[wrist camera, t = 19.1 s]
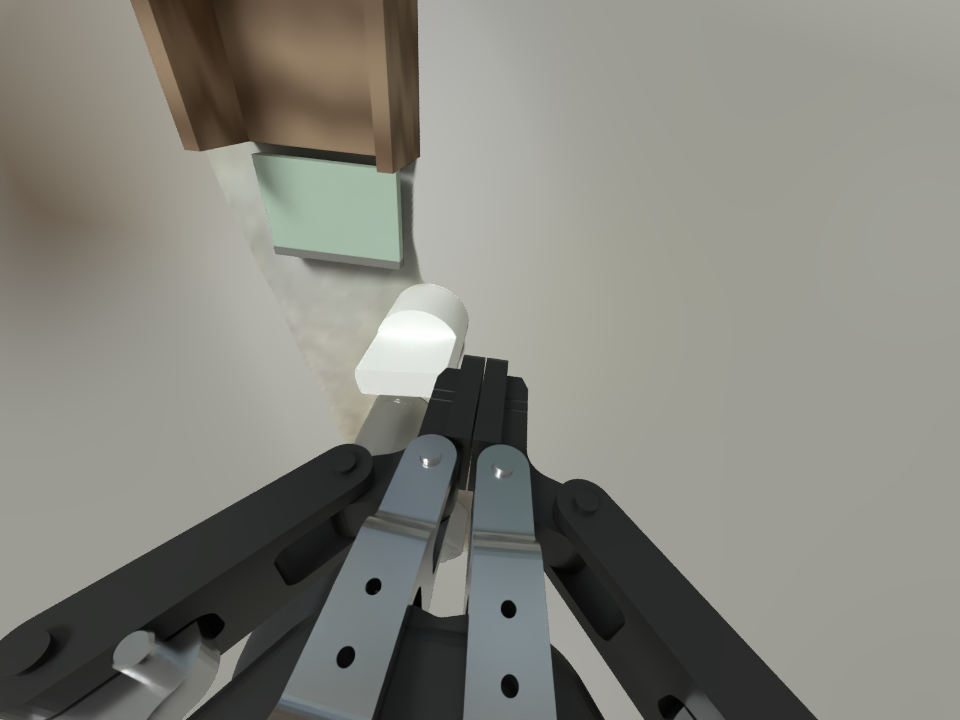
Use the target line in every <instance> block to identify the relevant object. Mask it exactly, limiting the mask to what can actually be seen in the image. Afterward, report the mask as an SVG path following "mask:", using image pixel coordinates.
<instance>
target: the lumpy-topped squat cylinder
mask: <svg viewBox="0 0 960 720" xmlns="http://www.w3.org/2000/svg"><path fill="white" fill-rule="evenodd" d="M467 520H468V511H467V509H466V508H465V507H464V506H462V505H461V504H460V503H458V502H456V504H455V508H454V510H453V514H452V518H451V522H450V526H449V529H448V533H447V537H446V540H445V544H444V548H443V551H442V555H441V559H440V562H439V563H443V562H446V561H447V560H450V559H454V558H456V557H458V556H460V555H461V554H462V551H463V545H464V539H465V533H466V526H467Z"/></svg>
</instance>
